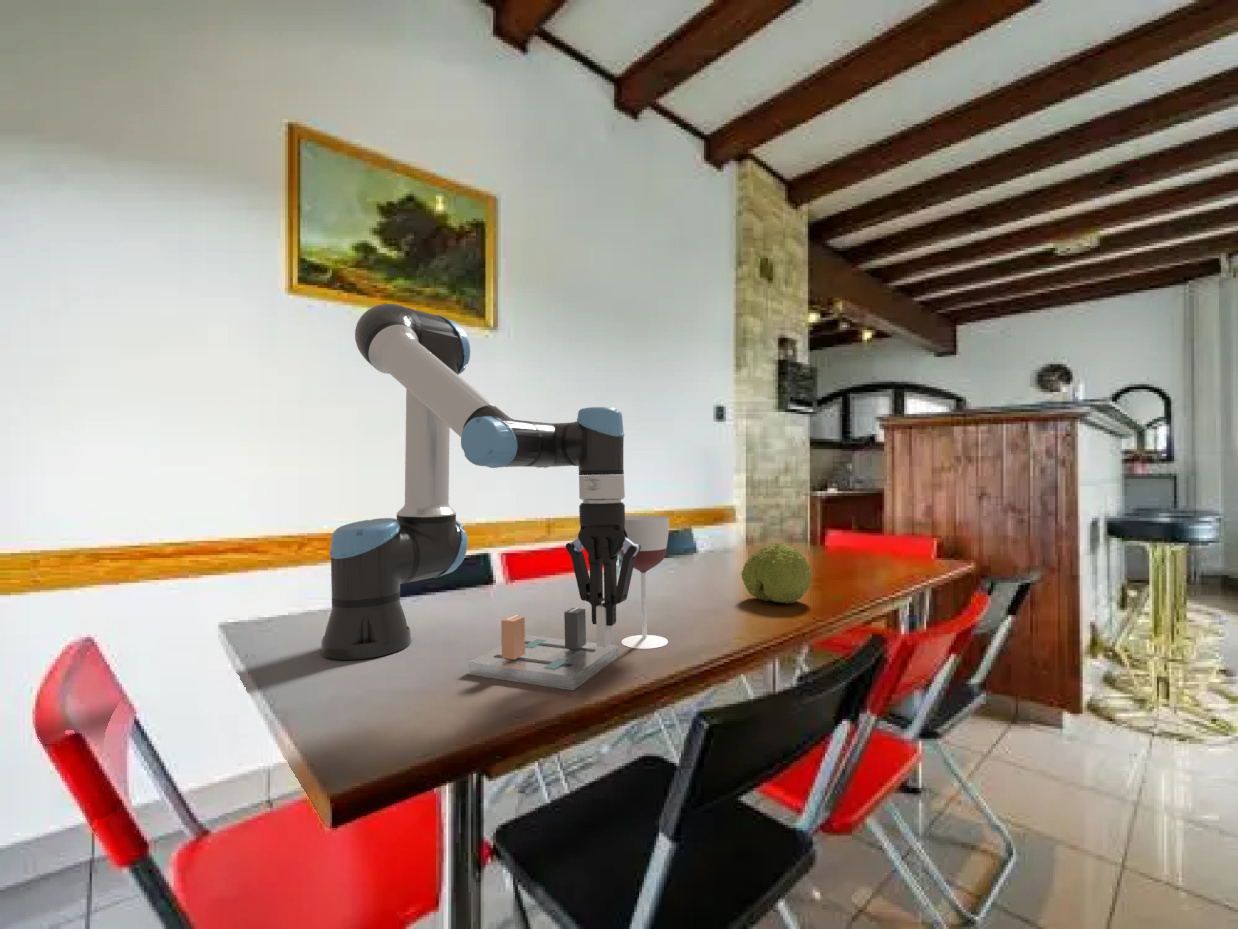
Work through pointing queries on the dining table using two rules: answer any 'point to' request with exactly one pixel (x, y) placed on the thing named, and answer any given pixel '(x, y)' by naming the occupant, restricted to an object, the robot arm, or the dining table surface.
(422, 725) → the dining table surface
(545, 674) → the console
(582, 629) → the fader black
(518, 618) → the block
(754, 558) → the fruit
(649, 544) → the wineglass
